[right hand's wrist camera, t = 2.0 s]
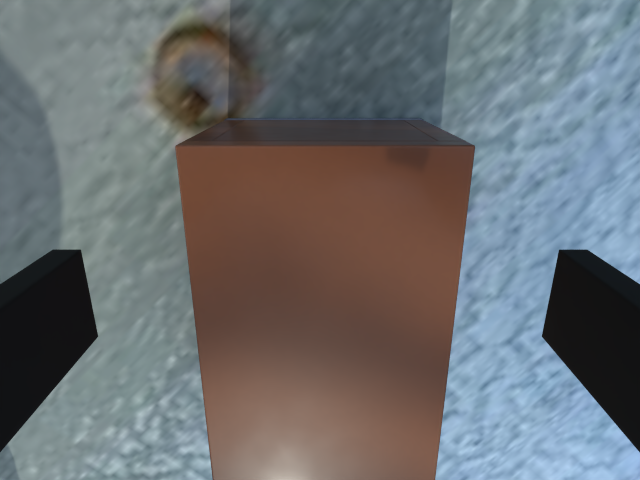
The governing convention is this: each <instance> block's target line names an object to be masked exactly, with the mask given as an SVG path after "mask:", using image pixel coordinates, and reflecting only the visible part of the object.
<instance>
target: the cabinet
mask: <svg viewBox="0 0 640 480" xmlns="http://www.w3.org/2000/svg"><path fill="white" fill-rule="evenodd" d="M175 148H176V157H177V166H178V175H179V184H180V193H181V202H182V211H183V219H184V228H185V237H186V246H187V255H188V264H189V273H190V282H191V290H192V299H193V308H194V317H195V326H196V335H197V344H198V353H199V361H200V370H201V379H202V388H203V397H204V406H205V415H206V424H207V432H208V441H209V450H210V459H211V468H212V477H213V480H435V475H436V467H437V459H438V451H439V442H440V434H441V426H442V417H443V409H444V401H445V392H446V384H447V376H448V367H449V359H450V351H451V343H452V334H453V326H454V318H455V309H456V301H457V293H458V284H459V276H460V268H461V259H462V251H463V243H464V235H465V226H466V218H467V210H468V201H469V193H470V185H471V176H472V168H473V160H474V151H475V146H474V145H472V144H470V143H468V142H466V141H465V140H463V139H461V138H458V137H456V136H454V135H452V134H450V133H448V132H446V131H444V130H442V129H440V128H438V127H436V126H434V125H432V124H430V123H428V122H426V121H423V119H421V118H227V119H225V120H224V121H223V122H221V123H219V124H217V125H215V126H213V127H211V128H209V129H207V130H205V131H203V132H201V133H199V134H197V135H195V136H193V137H191V138H189V139H187V140H185V141H184V142H182V143H180V144H178V145H176V147H175Z"/></svg>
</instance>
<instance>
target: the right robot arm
mask: <svg viewBox="0 0 640 480" xmlns="http://www.w3.org/2000/svg"><path fill="white" fill-rule="evenodd" d="M97 337H98V334H97V329H96V324H95V319H94V314H93V309H92V303H91V298H90V293H89V288H88V283H87V278H86V273H85V268H84V263H83V258H82V253H81V250H52V251H50V252H49V253H47V254H46V255H44V256H43V257H41V258H40V259H38V260H37V261H35V262H33V263H32V264H30V265H29V266H27V267H26V268H24V269H23V270H21V271H20V272H18V273H17V274H15V275H14V276H12V277H11V278H9V279H8V280H6V281H5V282H3V283H2V284H0V452H1V451H2V449H3V448H4V447H5V446H6V445H7V444H8V442H9V441H10V440H11V439H12V438H13V436H14V435H15V434H16V433H17V432H18V431H19V429H20V428H21V427H22V426H23V425H24V423H25V422H26V421H27V420H28V419H29V418H30V416H31V415H32V414H33V413H34V412H35V410H36V409H37V408H38V407H39V406H40V405H41V403H42V402H43V401H44V400H45V399H46V397H47V396H48V395H49V394H50V393H51V392H52V390H53V389H54V388H55V387H56V386H57V384H58V383H59V382H60V381H61V380H62V379H63V377H64V376H65V375H66V374H67V373H68V371H69V370H70V369H71V368H72V367H73V366H74V364H75V363H76V362H77V361H78V360H79V358H80V357H81V356H82V355H83V354H84V353H85V351H86V350H87V349H88V348H89V347H90V345H91V344H92V343H93V342H94V341H95V339H96V338H97ZM542 337H543V338H544V339H545V341H546V342H547V343H548V344H549V345H550V347H551V348H552V349H553V350H554V351H555V353H556V354H557V355H558V356H559V357H560V358H561V360H562V361H563V362H564V363H565V364H566V366H567V367H568V368H569V369H570V370H571V371H572V373H573V374H574V375H575V376H576V377H577V379H578V380H579V381H580V382H581V383H582V384H583V386H584V387H585V388H586V389H587V390H588V392H589V393H590V394H591V395H592V396H593V397H594V399H595V400H596V401H597V402H598V403H599V405H600V406H601V407H602V408H603V409H604V410H605V412H606V413H607V414H608V415H609V416H610V418H611V419H612V420H613V421H614V422H615V423H616V425H617V426H618V427H619V428H620V429H621V431H622V432H623V433H624V434H625V435H626V436H627V438H628V439H629V440H630V441H631V442H632V444H633V445H634V446H635V447H636V448H637V449H638V451H639V452H640V284H638V283H637V282H635V281H634V280H632V279H631V278H629V277H628V276H626V275H625V274H623V273H622V272H620V271H619V270H617V269H616V268H614V267H613V266H611V265H610V264H608V263H607V262H605V261H603V260H602V259H600V258H599V257H597V256H596V255H594V254H593V253H591V252H590V251H588V250H559V253H558V258H557V263H556V268H555V273H554V278H553V283H552V288H551V293H550V298H549V303H548V309H547V314H546V319H545V324H544V329H543V334H542Z"/></svg>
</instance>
